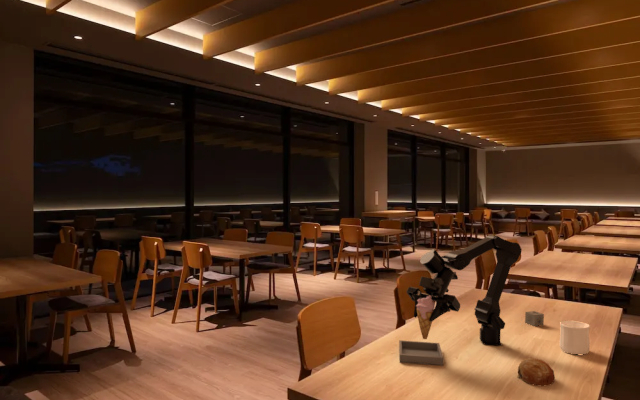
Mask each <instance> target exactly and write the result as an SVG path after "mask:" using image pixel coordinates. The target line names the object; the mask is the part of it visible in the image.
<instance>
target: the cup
mask: <svg viewBox="0 0 640 400" xmlns="http://www.w3.org/2000/svg"><path fill="white" fill-rule="evenodd" d="M559 327H560V328H559V329H560V330H559V331H560V332H559V333H560V334H559V348H560V350H561V351H562V350H563V351H562V352H564V351H565V352H564V353H566V352H568V353H572V354H586V353H587V354H588V353H589V352H590V348H591V346H590V345H591V342H590V328H591V326H590V324H589V323H586V322H581V321H578V320H572V319H571V320H568V319H567V320H562V321H560V322H559ZM568 353H567V354H568ZM572 354H571V355H572ZM587 354H586V355H587Z"/></svg>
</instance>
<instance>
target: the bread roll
mask: <svg viewBox="0 0 640 400" xmlns="http://www.w3.org/2000/svg"><path fill="white" fill-rule="evenodd" d="M517 378H518V379H520V380H522V381H523V382H525V383H527V384H529V383H530V384H529V385H532V384H534V385H533V386H537V385H541V386H540V387H545V386H544V385H546V386H551V385H553V383H554V382H555V379H556V377H555V371H554V370H553V369H552V367H551V366H550V365H549V363H547V362H545V361H544V360H542V359H538V358H532V357H529V358H525V359H523V360H522V361H520V363H519V364H518V367H517ZM550 384H551V385H550Z"/></svg>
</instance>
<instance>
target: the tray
mask: <svg viewBox="0 0 640 400" xmlns="http://www.w3.org/2000/svg"><path fill="white" fill-rule="evenodd" d="M398 345H399V346H398V348H399V349H398V353H399V356H398V357H399V363H405V364H416V365H417V364H418V365H430V366H431V365H432V366H442V367H443V366H444V355H443V351H442V349H441V345H440V342H429V341H413V340H399V341H398Z"/></svg>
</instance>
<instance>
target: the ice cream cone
mask: <svg viewBox="0 0 640 400" xmlns="http://www.w3.org/2000/svg"><path fill="white" fill-rule="evenodd" d="M431 298H432V297H431V296H430V295H429V296H427V297H426V298H422V299H418V300H417V301H418V304H417V305H416V307H417V315H418V316H417V321H418V324H419V329H420V332H421V337H422V339H423V340H427V339H428V337H429V333H430V330H431V327H432V322H433V321H432V322H430V321H429V319H430V317H431V314H432V312H433V310H434V308H435V306H436V302H435V301H432V299H431Z"/></svg>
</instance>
